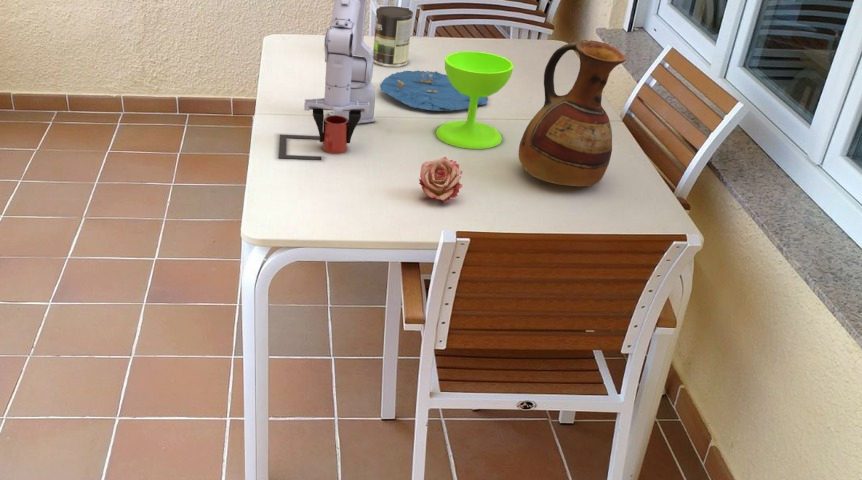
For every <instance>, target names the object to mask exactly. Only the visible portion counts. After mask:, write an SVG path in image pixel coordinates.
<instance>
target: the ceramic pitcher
mask: <svg viewBox="0 0 862 480" xmlns="http://www.w3.org/2000/svg"><path fill="white" fill-rule="evenodd" d="M569 51H575V52H576V53H578V57H579V71H578V74H577V76H576V79H575V81H574V84H573V85H572V87H571V89H570V90H569V91H568V92H567V93H566V94H563V95H558V94H557V93H556V91H555V71H556V67H557V65H558V63H559V62H560V60H561V59H562V57H563V56H564V55H565V54H566V53H567V52H569ZM626 60H627V57H626V56H625V55H624V54H623V53H621V52H620V50H619V49H617V48H616V47H614V46H612V45H610V44H608V43H606V42H602V41H598V40H592V39H590V40H587V39H583V40H582V39H581V40H578V41H576V42H570V43H567V44H563V45H562V46H559V48H557V49H556V50H555V51H554V52H553V53H552V55H551V56H550V58H549V60H548V62H547V63H546V66H545V68H544V73H543V90H544V103H543V106H542V107H541V108H540V109H539V111H537V112H536V113H535V115H534V116H533V118H531V120H530V121H529V123H528V124H527V125H526V128H525V130H524V132H523V134H522V137H521V139H520V142H519V145H518V161H519V163H520V164H521V166H522V167H523V168H524V169H525V171H526V172H527V173H528V174H529V175H530V176H532V177H534V178H536V179H538V180H540V181H542V182H547V183H551V184H555V185H560V186H561V185H562V186H567V187H569V186H570V187H585V186H587V187H589V186H594V185H596V184H598V183H600V182H601V180H602V179H603V178H604V175H605V174H606V171H607V170H608V167H609V164H610V161H611V157H612V152H613V129H612V124H611V121H610V117H609V115H608V114H607V112H606V110H605V109H604V108H603V106H602V98H603V97H602V96H603V91H604V88H605V87H606V85H607V83H608V80H609V77H610V74H611V72H612V71H613V70H614V69H615V68H616V67H617V66H619V65H621V64H623V63H625V62H626Z"/></svg>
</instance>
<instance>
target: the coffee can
mask: <svg viewBox="0 0 862 480" xmlns="http://www.w3.org/2000/svg"><path fill="white" fill-rule="evenodd" d="M375 13H376V14H375V15H376V16H375V27H374V39H373V41H374V42H373V49H372V51H373V54H374V56H373V64H376V65H378V66H382V67H388V68H397V67H398V68H399V67H404V66H406V65H407V64H408V63H409V61H408V59H409V49H410V40H411V32H412V21H413V15H414V12H413V11H412V10H411V9H409V8H406V7H402V6H397V5H396V6H394V5H386V6H385V5H384V6H380V7H378V8H376V10H375Z"/></svg>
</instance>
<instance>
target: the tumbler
mask: <svg viewBox="0 0 862 480" xmlns="http://www.w3.org/2000/svg"><path fill="white" fill-rule="evenodd" d="M348 123H349V120H348V119H347V118H346V117H343V116H338V115H331V116H329V115H327V116H324V121H323V142H322V150H323V152H326V153H328V154H343V153H346V152H347V150H348V149H347V148H348V143H347V137H348Z"/></svg>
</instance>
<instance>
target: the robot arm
mask: <svg viewBox="0 0 862 480" xmlns="http://www.w3.org/2000/svg"><path fill="white" fill-rule="evenodd" d="M367 6H368V0H334V1H333V6H332V7H333V8H332V12H331V13H332V14H331V19H330V24H329V28H327V29H326V31H325V33H324V40H323V41H324V42H323V48H324V63H325V82H324V97H323V98H312V99H311V98H310V99H308V98H307V99H306V98H304V106H303V109H304V111H307V112H309V111H310V110H311V111H312V117H313V120H314V122H315V124H316V127H317V130H318V136H320V140H319V142H320V143H323V126H324V118H325V116H324V114H325V112H324V111H328V112H327V116H331V115H338V116H343V117H346V118H347V119H348V120H349V123H348V137H347V144H351V141H352V137H353V134H354V131H355V129H356V127H357V125H358V124H366V123H367V124H368V123H375V122H376V120H375V108H376V90H375V85H374V84H373V83H372V79H373V73H374V62H373V56H374V54H373V49H371V47H369V45H367V43H366V42H365V41H364V39H365V27H366V17H367V8H368V7H367Z"/></svg>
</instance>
